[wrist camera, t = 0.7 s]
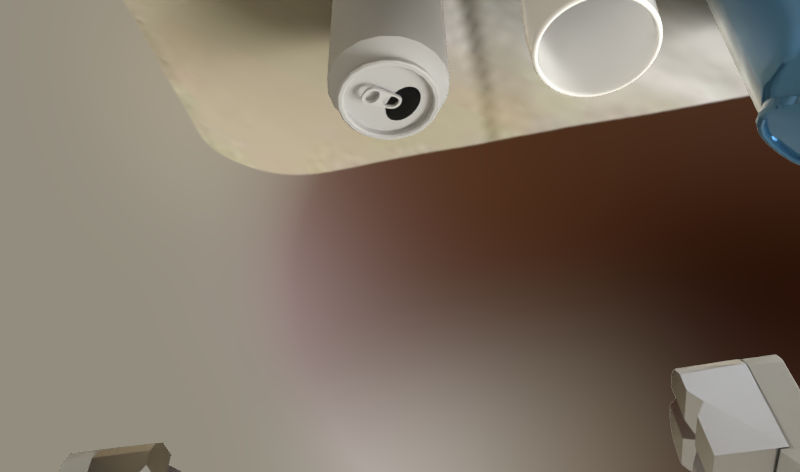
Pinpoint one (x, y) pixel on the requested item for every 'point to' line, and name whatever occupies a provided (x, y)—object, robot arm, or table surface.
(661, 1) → the table surface
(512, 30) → the table surface
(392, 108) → the can
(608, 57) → the cream cylinder
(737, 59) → the blue rounded container
